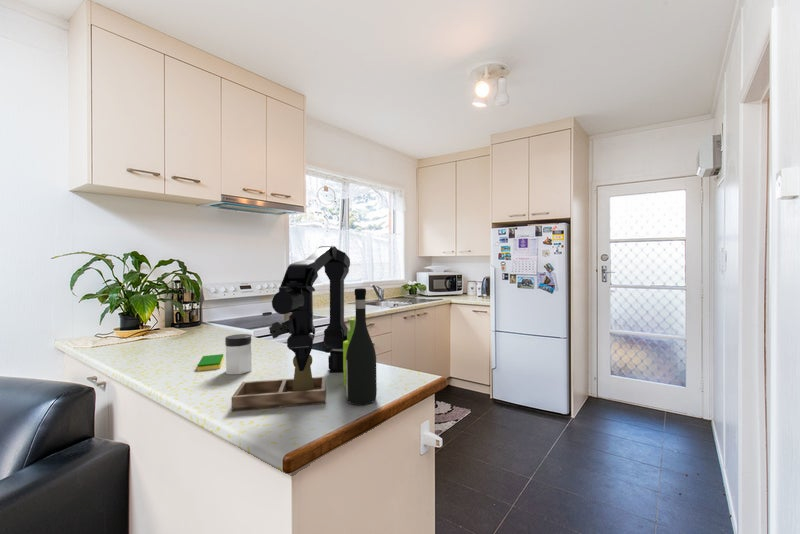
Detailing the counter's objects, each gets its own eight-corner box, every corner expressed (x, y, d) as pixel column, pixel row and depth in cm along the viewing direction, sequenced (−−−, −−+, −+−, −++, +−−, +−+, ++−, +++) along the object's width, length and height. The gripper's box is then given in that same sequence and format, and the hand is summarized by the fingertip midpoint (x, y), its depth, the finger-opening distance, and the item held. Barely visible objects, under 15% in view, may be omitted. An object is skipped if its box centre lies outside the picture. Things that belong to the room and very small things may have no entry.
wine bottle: (340, 402, 97) (338, 289, 96) (358, 393, 103) (357, 287, 103) (364, 408, 92) (363, 290, 92) (382, 398, 99) (381, 288, 99)
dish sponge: (197, 372, 127) (197, 365, 127) (203, 362, 140) (202, 355, 140) (220, 369, 129) (220, 362, 129) (223, 360, 142) (223, 353, 142)
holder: (325, 388, 108) (325, 376, 108) (325, 403, 96) (325, 390, 96) (242, 394, 104) (242, 381, 103) (231, 411, 92) (231, 397, 92)
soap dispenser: (368, 381, 113) (367, 317, 113) (356, 388, 107) (355, 320, 107) (352, 379, 116) (351, 316, 116) (339, 386, 110) (338, 319, 109)
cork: (317, 390, 104) (316, 351, 103) (310, 398, 98) (309, 357, 97) (296, 389, 104) (296, 351, 104) (288, 397, 98) (287, 357, 98)
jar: (252, 372, 124) (252, 337, 123) (226, 376, 120) (225, 340, 120) (250, 366, 132) (250, 332, 132) (225, 369, 128) (225, 335, 128)
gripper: (276, 306, 108) (276, 359, 108) (265, 315, 90) (266, 378, 90) (314, 305, 110) (315, 356, 110) (312, 313, 92) (312, 375, 92)
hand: (302, 365), depth 101 cm, fingers open, 9 cm apart
